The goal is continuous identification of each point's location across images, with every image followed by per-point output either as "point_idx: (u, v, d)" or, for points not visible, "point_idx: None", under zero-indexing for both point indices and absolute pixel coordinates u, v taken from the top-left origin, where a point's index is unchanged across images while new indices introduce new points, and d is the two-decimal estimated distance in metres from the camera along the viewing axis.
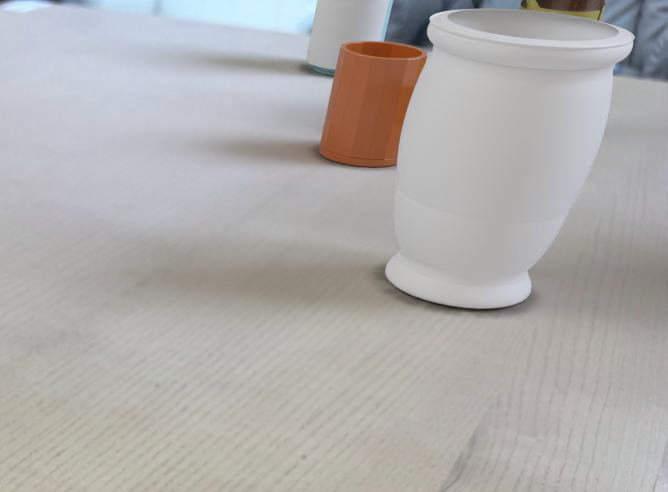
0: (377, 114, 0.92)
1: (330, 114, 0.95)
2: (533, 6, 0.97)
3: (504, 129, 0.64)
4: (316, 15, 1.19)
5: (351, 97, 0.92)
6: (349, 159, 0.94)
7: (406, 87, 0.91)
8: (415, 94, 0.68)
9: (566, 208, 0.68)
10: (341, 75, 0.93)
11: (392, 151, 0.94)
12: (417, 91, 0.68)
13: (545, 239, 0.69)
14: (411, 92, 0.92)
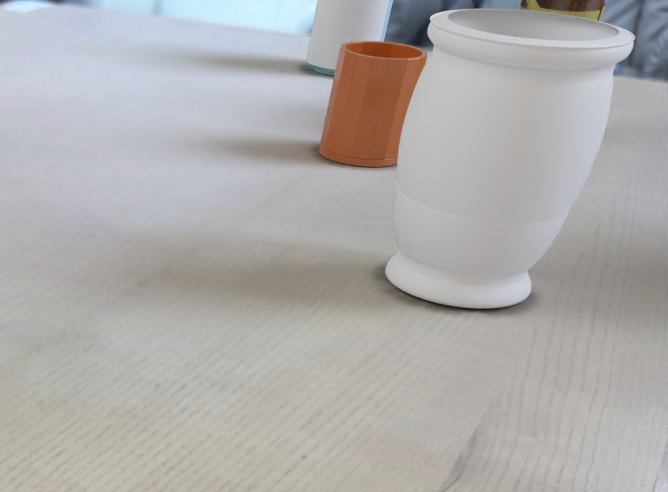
0: (377, 114, 0.92)
1: (330, 114, 0.95)
2: (533, 6, 0.97)
3: (505, 129, 0.64)
4: (316, 15, 1.19)
5: (351, 97, 0.92)
6: (349, 159, 0.94)
7: (406, 87, 0.91)
8: (415, 94, 0.68)
9: (566, 208, 0.68)
10: (341, 75, 0.93)
11: (392, 151, 0.94)
12: (417, 91, 0.68)
13: (545, 239, 0.69)
14: (411, 92, 0.92)
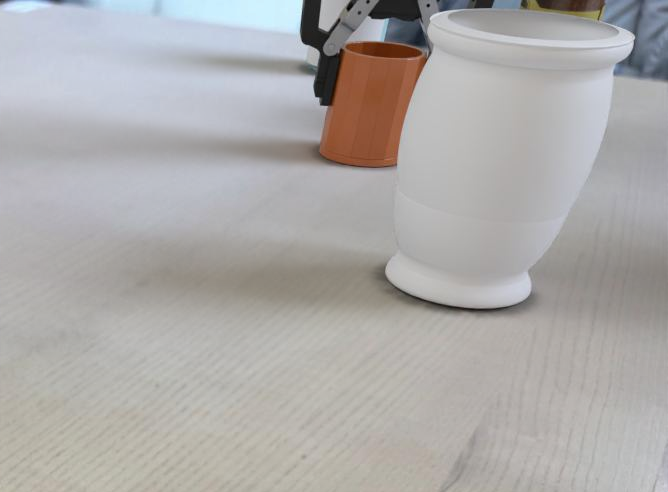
0: (377, 114, 0.92)
1: (330, 114, 0.95)
2: (533, 6, 0.97)
3: (505, 129, 0.64)
4: None
5: (351, 97, 0.92)
6: (349, 159, 0.94)
7: (406, 87, 0.91)
8: (415, 94, 0.68)
9: (566, 208, 0.68)
10: (341, 75, 0.93)
11: (392, 151, 0.94)
12: (417, 91, 0.68)
13: (545, 239, 0.69)
14: (411, 92, 0.92)
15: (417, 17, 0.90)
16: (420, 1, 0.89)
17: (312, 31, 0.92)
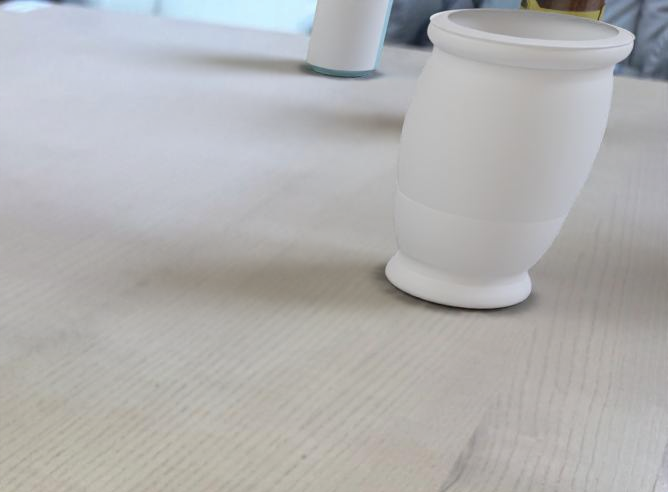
0: None
1: None
2: (533, 6, 0.97)
3: (505, 129, 0.64)
4: (316, 15, 1.19)
5: None
6: None
7: None
8: (415, 94, 0.68)
9: (566, 208, 0.68)
10: None
11: None
12: (417, 91, 0.68)
13: (545, 239, 0.69)
14: None
15: None
16: None
17: None
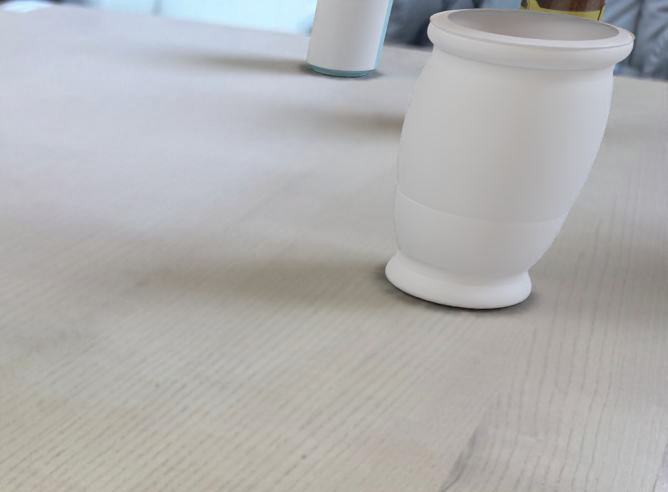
0: None
1: None
2: (533, 6, 0.97)
3: (505, 129, 0.64)
4: (316, 15, 1.19)
5: None
6: None
7: None
8: (415, 94, 0.68)
9: (566, 208, 0.68)
10: None
11: None
12: (417, 91, 0.68)
13: (545, 239, 0.69)
14: None
15: None
16: None
17: None
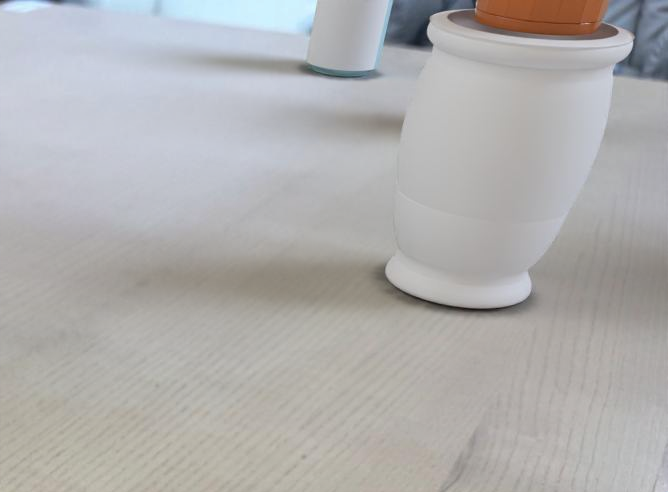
0: None
1: None
2: None
3: (504, 129, 0.64)
4: (316, 15, 1.19)
5: None
6: (526, 24, 0.63)
7: None
8: (415, 94, 0.68)
9: (566, 208, 0.68)
10: None
11: (592, 11, 0.63)
12: (417, 91, 0.68)
13: (545, 239, 0.69)
14: None
15: None
16: None
17: None
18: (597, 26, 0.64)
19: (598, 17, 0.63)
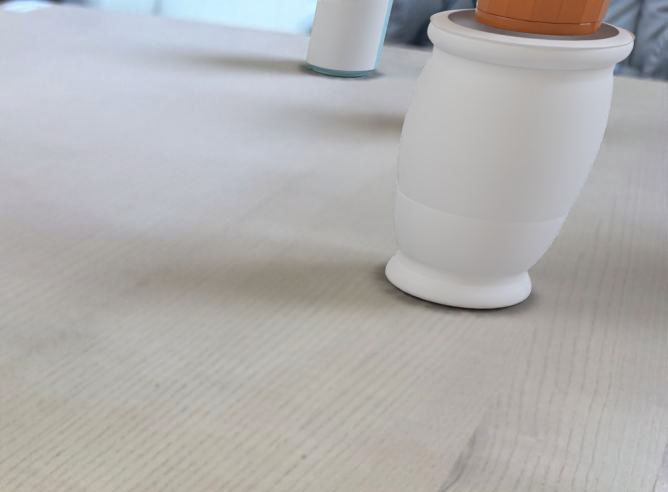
0: None
1: None
2: None
3: (505, 129, 0.64)
4: (316, 15, 1.19)
5: None
6: (527, 24, 0.63)
7: None
8: (415, 94, 0.68)
9: (566, 208, 0.68)
10: None
11: (593, 11, 0.63)
12: (417, 91, 0.68)
13: (545, 239, 0.69)
14: None
15: None
16: None
17: None
18: (598, 26, 0.64)
19: (599, 17, 0.63)
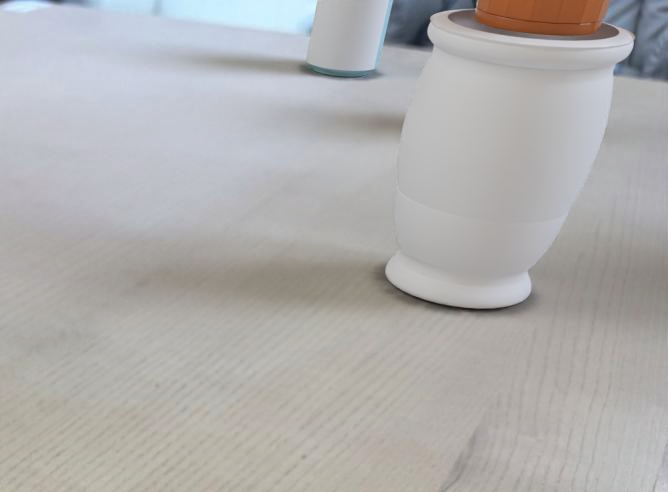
0: None
1: None
2: None
3: (505, 129, 0.64)
4: (316, 15, 1.19)
5: None
6: (527, 24, 0.63)
7: None
8: (415, 94, 0.68)
9: (566, 208, 0.68)
10: None
11: (593, 11, 0.63)
12: (417, 91, 0.68)
13: (545, 239, 0.69)
14: None
15: None
16: None
17: None
18: (598, 26, 0.64)
19: (599, 17, 0.63)
